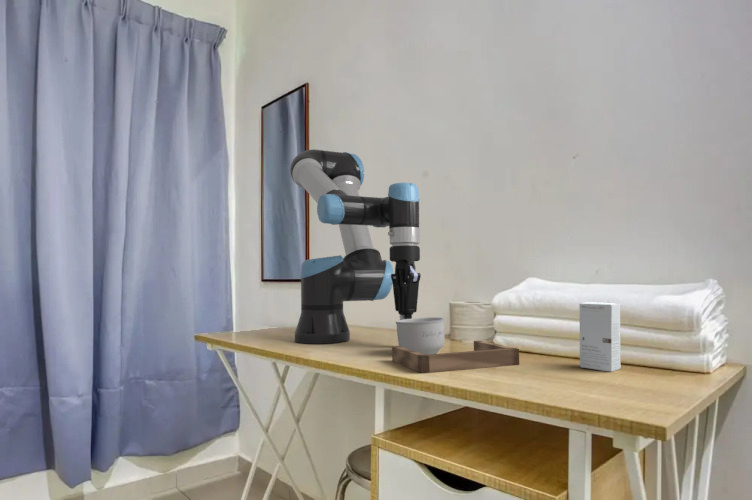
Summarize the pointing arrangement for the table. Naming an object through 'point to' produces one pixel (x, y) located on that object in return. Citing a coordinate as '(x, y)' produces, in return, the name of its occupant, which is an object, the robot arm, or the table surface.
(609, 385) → the table surface
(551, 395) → the table surface
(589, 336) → the skincare box
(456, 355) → the brown wooden tray
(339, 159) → the robot arm
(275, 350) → the table surface
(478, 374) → the table surface
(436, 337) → the teacup
